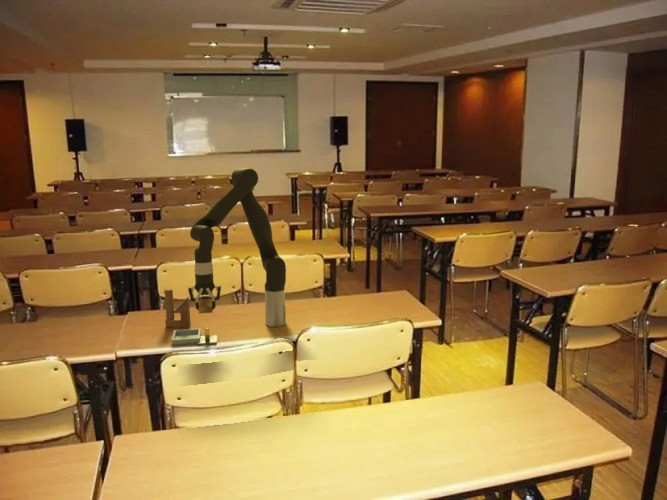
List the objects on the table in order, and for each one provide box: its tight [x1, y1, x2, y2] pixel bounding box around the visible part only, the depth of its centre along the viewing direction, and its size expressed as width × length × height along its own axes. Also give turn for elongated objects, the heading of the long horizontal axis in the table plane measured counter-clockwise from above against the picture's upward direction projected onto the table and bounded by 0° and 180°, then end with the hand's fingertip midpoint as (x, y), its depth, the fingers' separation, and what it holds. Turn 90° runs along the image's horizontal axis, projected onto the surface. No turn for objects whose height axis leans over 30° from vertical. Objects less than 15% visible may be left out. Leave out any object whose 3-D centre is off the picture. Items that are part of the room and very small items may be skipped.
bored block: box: [198, 295, 214, 314], centre depth 240 cm, size 6×6×6 cm
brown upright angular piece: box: [164, 288, 191, 329], centre depth 260 cm, size 4×11×18 cm, turn 90°
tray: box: [171, 328, 202, 346], centre depth 246 cm, size 12×12×2 cm
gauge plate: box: [197, 327, 218, 347], centre depth 243 cm, size 8×8×6 cm
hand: (205, 309), depth 241 cm, fingers closed on bored block, 5 cm apart
